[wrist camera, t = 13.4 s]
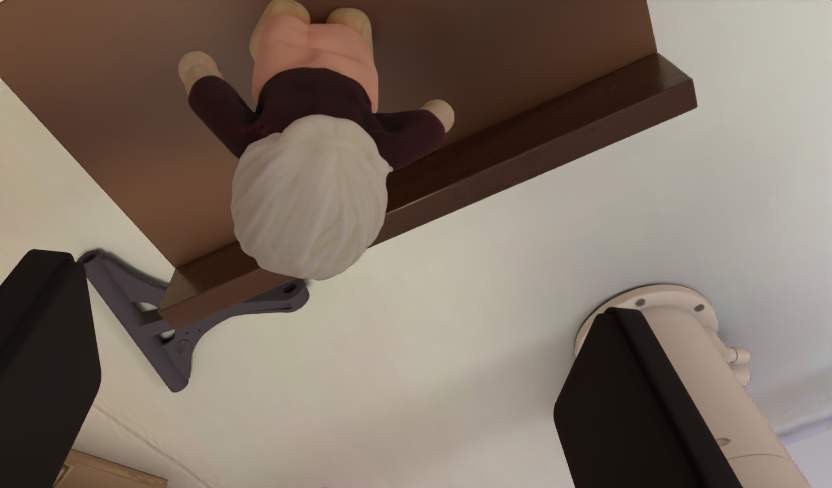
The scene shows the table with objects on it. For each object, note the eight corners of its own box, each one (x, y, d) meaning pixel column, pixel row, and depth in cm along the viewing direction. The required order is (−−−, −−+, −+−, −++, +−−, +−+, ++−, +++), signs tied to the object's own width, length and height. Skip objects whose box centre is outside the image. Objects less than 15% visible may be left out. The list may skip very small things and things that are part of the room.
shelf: (104, -50, 33) (-100, 57, 18) (482, -270, 29) (615, -363, 14) (241, 143, 40) (175, 331, 25) (558, -10, 36) (699, 107, 21)
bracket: (335, 342, 51) (334, 366, 49) (172, 379, 52) (164, 405, 50) (274, 204, 43) (269, 225, 41) (82, 252, 44) (67, 275, 42)
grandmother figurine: (230, 96, 23) (126, 328, 12) (212, -11, 20) (67, 162, 10) (431, 94, 23) (492, 312, 13) (435, -11, 21) (513, 153, 11)
